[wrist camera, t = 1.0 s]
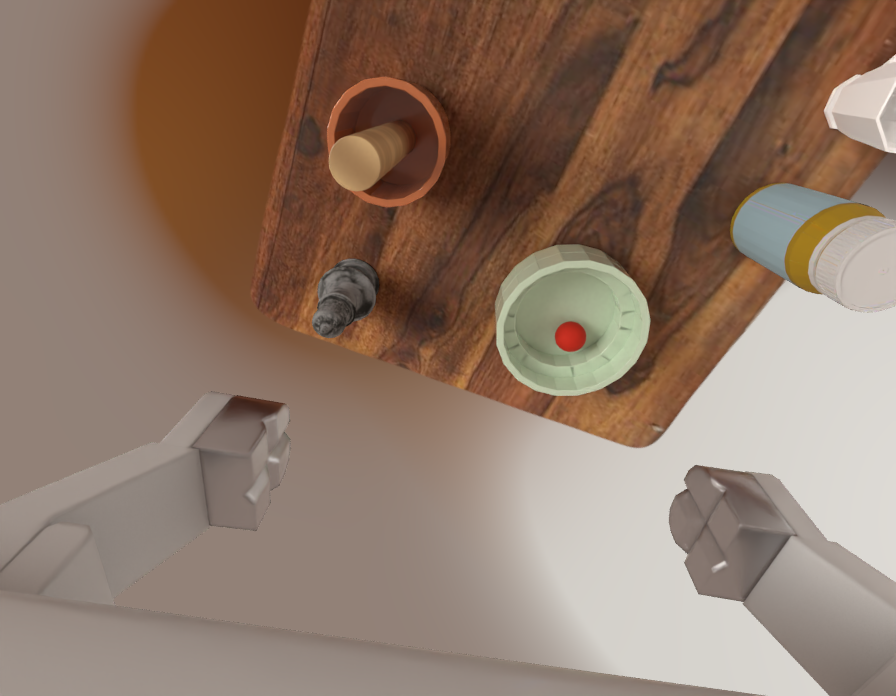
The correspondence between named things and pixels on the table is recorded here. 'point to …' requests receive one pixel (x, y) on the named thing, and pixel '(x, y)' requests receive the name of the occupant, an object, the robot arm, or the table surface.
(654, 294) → the table surface
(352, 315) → the grey chess piece
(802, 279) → the bottle
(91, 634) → the robot arm
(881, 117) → the cup
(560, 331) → the ball
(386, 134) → the stick
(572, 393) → the bowl
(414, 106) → the crock
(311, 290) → the table surface
